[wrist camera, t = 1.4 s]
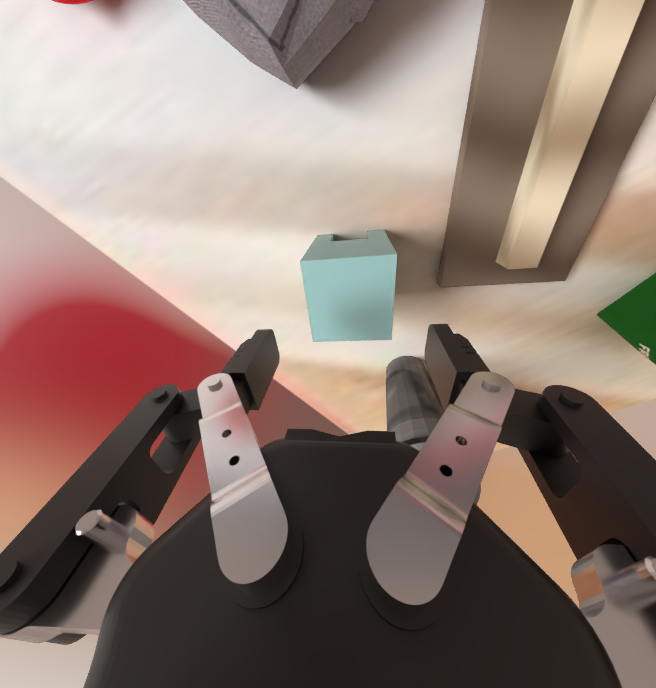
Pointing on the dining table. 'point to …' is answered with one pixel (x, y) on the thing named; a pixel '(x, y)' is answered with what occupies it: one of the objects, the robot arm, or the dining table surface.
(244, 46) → the soft grey pack
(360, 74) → the dining table surface
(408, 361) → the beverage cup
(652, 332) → the milk carton
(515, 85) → the cleat board
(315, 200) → the dining table surface
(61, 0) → the cap
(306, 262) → the saddle block
